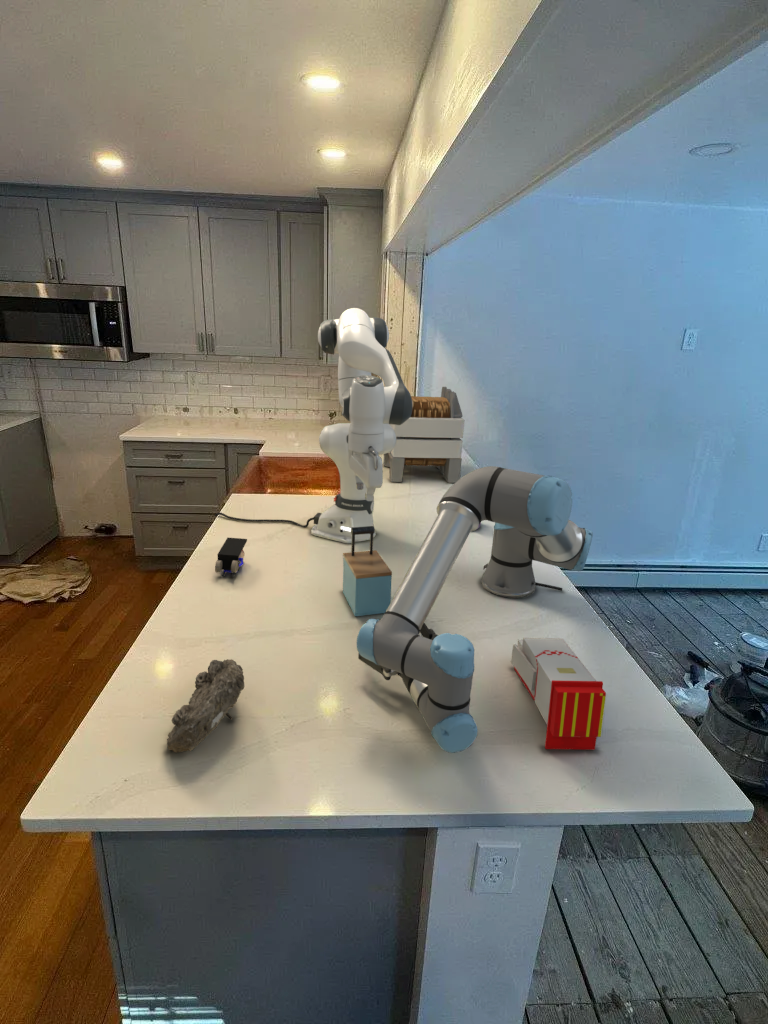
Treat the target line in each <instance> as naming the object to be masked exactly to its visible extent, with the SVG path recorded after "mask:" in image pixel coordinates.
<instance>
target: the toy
mask: <svg viewBox="0 0 768 1024" xmlns="http://www.w3.org/2000/svg"><path fill="white" fill-rule="evenodd" d="M510 663H511V664H512V666H513V669H514V671H515V672H516V675H517V676H518V678H519V679H520V681H521V683H522V684H523V685H524V687H525V689H526V690H527V692H528V693H529V695H530V697H531V698H532V700H533V701H534V704H535V705H536V707H537V709H538V711H539V712H540V715H541V717H542V719H543V720H544V722H545V724H546V732H545V733H546V734H545V744H544V748H545V750H578V751H579V750H583V751H584V750H585V751H586V750H589V751H591V750H592V751H594V750H596V745H597V738H601V737H602V729H603V724H604V723H603V722H604V714H605V707H606V700H607V699H606V698H607V692H606V691H605V690H604V682H603V681H602V680H596V678H595V677H594V676H593V675H592V672H590V670H588V668H587V667H586V666H585V664H584V663H583V662H582V661H581V659H580V658H579V657H578V656H577V654H576V653H575V652H574V650H573V649H572V648H571V647H570V646H569V644H568V643H567V642H566V640H565V639H564V638H562V637H561V638H559V637H557V638H555V637H554V638H553V637H523V638H521V639H520V638H517V643H513V644H512V651H511V658H510Z"/></svg>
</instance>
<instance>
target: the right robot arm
mask: <svg viewBox="0 0 768 1024" xmlns="http://www.w3.org/2000/svg"><path fill="white" fill-rule="evenodd" d="M572 496H573V492H572V488H571V486H570V484H569V483H568V481H566V480H565V479H562V478H558V477H556V476H553V475H544V474H539V473H533V472H527V471H522V470H518V469H517V470H516V469H512V468H506V467H505V468H504V467H501V466H496V465H495V466H494V465H490V466H483V467H479V468H476V469H474V470H472V471H470V472H467V474H465V475H463V476H461V477H460V479H459V480H458V481H457V482H455V483H452V485H451V486H450V487H449V488H448V489H447V490H446V491H445V493H444V494H443V495H442V497H441V499H440V501H439V502H438V504H437V506H436V514H437V516H436V517H435V520H434V521H433V524H432V525H431V527H430V529H429V531H428V533H427V535H426V537H425V538H424V540H423V542H422V544H421V546H420V547H419V550H418V551H417V553H416V555H415V557H414V559H413V561H411V564H410V566H409V567H408V570H407V572H406V574H405V575H404V577H403V579H402V581H401V583H400V584H399V586H398V588H397V590H396V592H395V593H394V596H393V598H391V601H390V605H389V607H388V609H387V610H386V612H385V613H383V615H382V617H381V619H380V618H377V619H376V618H369V619H367V620H366V621H365V623H363V624H362V625H361V627H360V628H359V631H358V634H357V637H356V641H355V642H356V650H357V653H358V654H357V655H358V660H360V661H361V662H362V663H364V664H365V665H367V666H368V667H370V668H371V669H372V670H374V671H376V672H377V673H379V674H380V675H381V676H382V677H383V679H384V680H386V681H390V680H391V679H392V676H396V675H397V676H398V677H401V680H402V683H403V685H404V686H405V688H406V690H407V692H408V694H409V696H410V697H411V698H412V701H413V702H414V705H415V706H416V708H417V709H418V711H419V713H420V715H421V716H422V719H423V720H424V723H426V726H427V728H428V729H429V731H430V734H431V736H432V738H433V739H434V741H436V743H437V745H438V746H439V747H440V749H441V750H443V751H444V752H447V753H449V754H450V753H451V754H455V753H459V752H463V751H466V749H468V748H469V747H470V746H472V745H473V744H474V742H475V741H476V739H477V736H478V732H479V731H478V726H477V723H476V721H475V719H474V717H473V715H472V714H471V713H470V707H471V706H470V705H471V692H472V685H473V678H474V672H475V647H474V644H473V643H472V641H471V640H470V639H468V638H467V637H465V636H464V635H462V634H459V633H454V634H453V633H450V632H444V633H441V634H436V632H435V630H434V629H432V628H429V627H428V626H427V624H426V623H425V621H426V620H427V618H428V616H429V614H430V612H431V610H432V608H433V606H434V604H435V602H436V600H437V598H438V597H439V594H440V592H441V590H442V588H443V587H444V585H445V583H446V580H447V578H448V576H449V574H450V573H451V571H452V568H453V567H454V565H455V563H456V561H457V559H458V557H459V555H460V553H461V551H462V549H463V547H464V546H465V543H466V542H467V539H468V537H469V536H470V534H471V533H472V532H474V531H476V529H477V528H478V526H479V524H480V522H481V523H482V522H483V521H488V522H491V523H494V525H493V534H492V535H493V536H492V546H491V553H490V560H489V561H488V562H487V563H485V564H484V565H483V566H482V567H483V568H482V570H484V572H483V573H482V577H481V585H482V587H483V588H484V589H485V590H486V591H488V592H489V593H491V594H494V595H495V596H499V597H503V598H508V599H509V598H510V599H522V598H526V597H529V596H532V595H533V594H534V593H535V591H536V587H542V588H547V589H551V590H556V591H563V587H559V586H555V585H550V584H545V583H541V582H536V579H535V574H534V569H533V561H536V562H538V563H542V564H547V565H550V566H555V567H558V568H561V569H566V570H569V571H571V572H573V571H574V572H582V571H583V570H584V568H585V566H586V563H587V559H588V556H589V553H590V549H591V545H592V541H593V537H594V532H593V530H591V529H588V528H586V527H580V526H578V524H576V523H575V522H574V521H573V520H570V517H571V513H572V508H573V498H572ZM480 525H481V524H480ZM478 529H479V528H478ZM478 529H477V530H478Z"/></svg>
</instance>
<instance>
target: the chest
mask: <svg viewBox="0 0 768 1024" xmlns="http://www.w3.org/2000/svg"><path fill="white" fill-rule="evenodd" d="M342 557H343V556H342ZM342 559H343V560H342V561H343V562H342V593H343V595H344V598H345V600H346V601H347V604H348V606H349V607H350V610H351V611H352V614H353V615H354V617H360V616H361V617H362V616H371V615H379V614H380V615H381V614H385V612H386V610H387V609H388V607H389V605H390V603H391V601H392V579H393V576H392V575H393V574H392V575H389V576H379V577H369V578H359V579H356V578H355V576H354V574H353V573H352V571H351V569H350V567H349V566H348V564H347V562H346V560H345V559H344V557H343V558H342Z"/></svg>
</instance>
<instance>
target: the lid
mask: <svg viewBox="0 0 768 1024" xmlns="http://www.w3.org/2000/svg"><path fill="white" fill-rule="evenodd" d="M374 532H376V528H375V525H374V526H365V527H352V528H351V535H352V543H351V548H350V550H351V551H349V552H342V557H344V559H345V560H346V562H347V564H348V566H349V567H350V569H351V571H352V573H353V574H354V576H355V578H356V579H359V578H369V577H379V576H389V575H393V572H392V570H391V568H390V567H389V566H388V564H387V563H386V561H385V560H384V559H383V557H382V556H381V554H380V553H379V552H378V550H377V549H375V550H374V537H373V533H374ZM360 534H370V539H369V550H361V551H355V548H356V547H355V545H356V544H355V543H356V542H355V535H360Z"/></svg>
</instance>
